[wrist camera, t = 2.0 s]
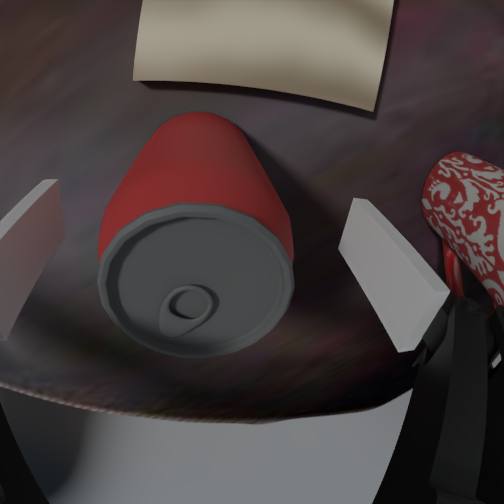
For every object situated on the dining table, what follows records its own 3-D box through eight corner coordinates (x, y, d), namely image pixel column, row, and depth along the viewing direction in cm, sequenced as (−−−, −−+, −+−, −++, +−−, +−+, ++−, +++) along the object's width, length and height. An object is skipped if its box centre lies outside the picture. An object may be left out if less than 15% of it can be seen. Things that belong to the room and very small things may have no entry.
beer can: (126, 183, 18) (59, 326, 8) (179, 90, 16) (136, 132, 6) (215, 227, 21) (232, 385, 11) (272, 146, 18) (358, 260, 9)
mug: (439, 120, 18) (590, 205, 7) (497, 162, 21) (606, 242, 10) (373, 260, 25) (460, 393, 14) (439, 274, 27) (515, 375, 16)
